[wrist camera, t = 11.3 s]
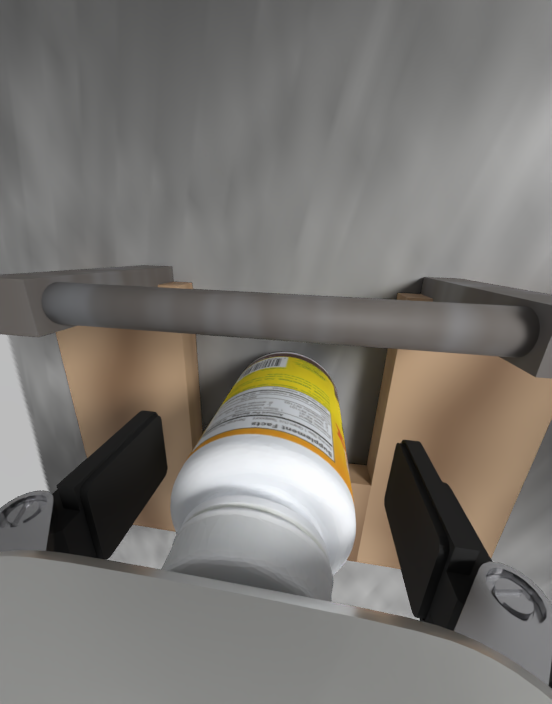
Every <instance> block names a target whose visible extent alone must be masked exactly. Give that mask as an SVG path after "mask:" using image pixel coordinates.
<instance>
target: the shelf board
mask: <svg viewBox="0 0 552 704" xmlns="http://www.w3.org/2000/svg"><path fill="white" fill-rule="evenodd" d="M55 332H56V336H57V340H58V344H59V348H60V352H61V356H62V360H63V364H64V368H65V372H66V376H67V380H68V384H69V388H70V392H71V396H72V400H73V404H74V408H75V412H76V416H77V420H78V424H79V428H80V432H81V436H82V440H83V444H84V448H85V452H86V456H87V458H88V457H89V456H90V455H91V454H93V453H94V452H95V451H96V450H97V449H98V448H99V447H100V446H102V445H103V444H104V443H105V442H106V441H107V440H108V439H109V438H111V437H112V436H113V435H114V434H115V433H116V432H117V431H118V430H120V429H121V428H122V427H123V426H124V425H125V424H126V423H127V422H129V421H130V420H131V419H132V418H133V417H134V416H135V415H136V414H138V413H139V412H140V411H142V410H144V411H153V412H157V414H158V416H160V417H161V419H162V427H163V435H164V443H165V450H166V458H167V466H168V470H167V474H166V476H165V478H164V479H163V481H162V482H161V484H160V485H159V487H158V488H157V489H156V491H155V492H154V494H153V495H152V497H151V498H150V500H149V501H148V503H147V504H146V506H145V507H144V508H143V510H142V511H141V513H140V514H139V516H138V517H137V519H136V520H135V522H134V523H133V525H139V526H145V527H151V528H157V529H163V530H169V531H175V528H174V525H173V522H172V518H171V510H170V503H171V493H172V489H173V485H174V483H175V480H176V478H177V476H178V474H179V472H180V470H181V468H182V467H183V464H184V463H185V461H186V460H187V458H188V456H189V455H190V453H191V452H192V450H193V449H194V447H195V445H196V444H197V442H198V441H199V439H200V438H201V436H202V434H203V432H202V417H201V403H200V389H199V374H198V360H197V346H196V334H200V335H213V336H227V337H240V338H254V339H268V340H281V341H295V342H309V343H322V344H336V345H349V346H363V347H377V348H388V350H387V355H386V361H385V367H384V372H383V378H382V383H381V389H380V394H379V400H378V405H377V411H376V416H375V422H374V428H373V433H372V439H371V444H370V450H369V455H368V461H367V466H366V465H358V464H350V463H348V467H349V473H350V481H351V487H352V493H353V500H354V506H355V517H356V535H355V541H354V544H353V548H352V550H351V552H350V555H349V557H348V558H347V560H349V561H355V562H361V563H367V564H373V565H379V566H385V567H391V568H397V569H401V568H400V564H399V560H398V556H397V552H396V549H395V545H394V541H393V537H392V533H391V530H390V526H389V522H388V518H387V514H386V511H385V506H384V497H385V492H386V488H387V483H388V479H389V474H390V470H391V465H392V461H393V456H394V451H395V447H396V444H397V443H401V442H402V440H412V441H419V442H421V444H422V446H423V447H424V449H425V451H426V453H427V455H428V457H429V458H430V460H431V462H432V464H433V466H434V468H435V469H436V471H437V473H438V475H439V477H440V479H441V480H442V482H445V483H447V484H448V485H449V486H450V488H451V489H452V491H453V493H454V494H455V496H456V498H457V500H458V502H459V503H460V505H461V507H462V509H463V510H464V512H465V514H466V516H467V517H468V519H469V521H470V523H471V525H472V526H473V528H474V530H475V532H476V533H477V535H478V537H479V539H480V540H481V542H482V544H483V546H484V547H485V549H486V551H487V553H488V555H489V556H490V558H491V557H492V555H493V553H494V550H495V548H496V546H497V543H498V541H499V539H500V536H501V534H502V532H503V530H504V527H505V525H506V523H507V520H508V518H509V516H510V513H511V511H512V509H513V507H514V504H515V502H516V500H517V497H518V495H519V493H520V490H521V488H522V486H523V484H524V481H525V479H526V477H527V474H528V472H529V470H530V467H531V465H532V463H533V461H534V458H535V456H536V454H537V451H538V449H539V447H540V445H541V442H542V440H543V438H544V435H545V433H546V431H547V428H548V426H549V424H550V422H551V419H552V295H550V294H545V293H539V292H533V291H528V290H522V289H516V288H510V287H505V286H499V285H493V284H488V283H482V282H476V281H470V280H465V279H456V278H433V277H424V280H423V285H422V289H421V294H410V293H398V294H397V300H392V299H372V298H353V297H334V296H315V295H296V294H277V293H258V292H239V291H220V290H201V289H192V283H188V282H173V271H172V266H150V265H141V266H126V267H111V268H95V269H80V270H65V271H50V272H35V273H20V274H5V275H0V334H5V335H17V336H29V337H41V336H45V335H48V334H52V333H55ZM175 532H176V531H175Z"/></svg>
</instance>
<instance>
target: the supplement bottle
mask: <svg viewBox="0 0 552 704" xmlns="http://www.w3.org/2000/svg"><path fill="white" fill-rule="evenodd" d="M170 510H171V518H172V522H173V525H174V528H175V531H176V534H177V535H176V537H175V539H174V542H173V546H172V549H171V551H170V553H169V555H168V557H167V559H166V561H165V563H164V565H163V567H162V569H161V570H166V571H171V572H177V573H182V574H188V575H193V576H198V577H204V578H209V579H215V580H220V581H225V582H231V583H236V584H241V585H247V586H252V587H257V588H263V589H268V590H273V591H278V592H283V593H289V594H294V595H299V596H304V597H309V598H314V599H320V600H325V601H330V602H331V593H332V588H333V575H334V574H335V573H336V572H337V571H338V570H339V569H340V568H341V567H342V566H343V564H344V563H345V562H346V560H347V558H348V557H349V555H350V552H351V550H352V548H353V544H354V541H355V535H356V517H355V506H354V500H353V493H352V487H351V481H350V473H349V467H348V460H347V454H346V447H345V441H344V434H343V427H342V421H341V414H340V408H339V400H338V395H337V391H336V387H335V384H334V382H333V380H332V378H331V377H330V375H329V374H328V373H327V371H326V370H325V369H324V368H323V367H322V366H321V365H319V364H318V363H317V362H315V361H314V360H312V359H310V358H308V357H306V356H303V355H300V354H297V353H291V352H277V353H271V354H268V355H265V356H262V357H260V358H258V359H257V360H255V361H254V362H252V363H251V364H250V365H249V366H248V367H247V368H246V369H245V370H244V372H243V373H242V374H241V376H240V377H239V379H238V380H237V382H236V383H235V385H234V386H233V388H232V389H231V391H230V392H229V394H228V396H227V397H226V399H225V400H224V402H223V403H222V405H221V406H220V408H219V410H218V411H217V413H216V414H215V416H214V417H213V419H212V420H211V422H210V423H209V425H208V426H207V428H206V430H205V431H204V433H203V434H202V436H201V438H200V439H199V441H198V442H197V444H196V445H195V447H194V449H193V450H192V452H191V453H190V455H189V456H188V458H187V460H186V461H185V463H184V464H183V467H182V468H181V470H180V472H179V474H178V476H177V478H176V480H175V483H174V485H173V489H172V493H171V503H170Z"/></svg>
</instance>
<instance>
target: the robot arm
mask: <svg viewBox="0 0 552 704" xmlns="http://www.w3.org/2000/svg"><path fill="white" fill-rule="evenodd" d="M167 470H168V466H167V458H166V450H165V443H164V435H163V427H162V419H161V417H160V416H158V414H157V412H153V411H144V410H142V411H140V412H139V413H138V414H136V415H135V416H134V417H133V418H132V419H131V420H130V421H129V422H127V423H126V424H125V425H124V426H123V427H122V428H121V429H120V430H118V431H117V432H116V433H115V434H114V435H113V436H112V437H111V438H109V439H108V440H107V441H106V442H105V443H104V444H103V445H102V446H100V447H99V448H98V449H97V450H96V451H95V452H94V453H93V454H91V455H90V456H89V457H88V458H87V459H86V460H85V461H84V462H82V463H81V464H80V465H79V466H78V467H77V468H76V469H75V470H73V471H72V472H71V473H70V474H69V475H68V476H67V477H66V478H64V479H63V480H62V481H61V482H60V483H59V484H58V485H57V490H56V491H55V492H54V493H53V494H51V493H50V492H48V491H34V492H29V493H26V494H24V495H21V496H19V497H17V498H15V499H13V500H11V501H9V502H8V503H7V504H5V505H4V506H2V507H1V508H0V704H552V605H551V603H550V601H549V600H548V599H547V597H546V596H545V594H544V593H543V592H542V590H541V589H540V588H539V587H538V586H537V585H536V584H535V583H534V582H533V581H531V580H530V579H529V578H528V577H526V576H525V575H524V574H522V573H521V572H519V571H517V570H516V569H514V568H512V567H510V566H508V565H505V564H502V563H499V562H492V560H491V558H490V556H489V555H488V553H487V551H486V549H485V547H484V546H483V544H482V542H481V540H480V539H479V537H478V535H477V533H476V532H475V530H474V528H473V526H472V525H471V523H470V521H469V519H468V517H467V516H466V514H465V512H464V510H463V509H462V507H461V505H460V503H459V502H458V500H457V498H456V496H455V494H454V493H453V491H452V489H451V488H450V486H449V485H448V484H447V483H445V482H442V480H441V479H440V477H439V475H438V473H437V471H436V469H435V468H434V466H433V464H432V462H431V460H430V458H429V457H428V455H427V453H426V451H425V449H424V447H423V446H422V444H421V442H419V441H412V440H402V442H401V443H397V444H396V447H395V451H394V456H393V461H392V465H391V470H390V474H389V479H388V483H387V488H386V492H385V497H384V506H385V511H386V514H387V518H388V522H389V526H390V530H391V533H392V537H393V541H394V545H395V549H396V552H397V556H398V560H399V564H400V568H401V571H402V575H403V579H404V583H405V587H406V591H407V594H408V598H409V602H410V606H411V610H412V613H413V615H414V616H415V617H417V618H420V621H418V620H415V619H411V618H407V617H402V616H398V615H393V614H388V613H384V612H379V611H374V610H369V609H365V608H360V607H355V606H351V605H345V604H340V603H335V602H330V601H325V600H320V599H314V598H309V597H304V596H299V595H294V594H289V593H283V592H278V591H273V590H268V589H263V588H257V587H252V586H247V585H241V584H236V583H231V582H225V581H220V580H215V579H209V578H204V577H198V576H193V575H188V574H182V573H177V572H171V571H166V570H160V569H155V568H149V567H144V566H138V565H132V564H127V563H121V562H116V561H110V560H105V559H108V558H109V557H110V556H111V555H112V554H113V552H114V551H115V549H116V548H117V547H118V545H119V544H120V542H121V541H122V539H123V538H124V536H125V535H126V533H127V532H128V530H129V529H130V527H131V526H132V525H133V523H134V522H135V520H136V519H137V517H138V516H139V514H140V513H141V511H142V510H143V508H144V507H145V506H146V504H147V503H148V501H149V500H150V498H151V497H152V495H153V494H154V492H155V491H156V489H157V488H158V487H159V485H160V484H161V482H162V481H163V479H164V478H165V476H166V474H167Z"/></svg>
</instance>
